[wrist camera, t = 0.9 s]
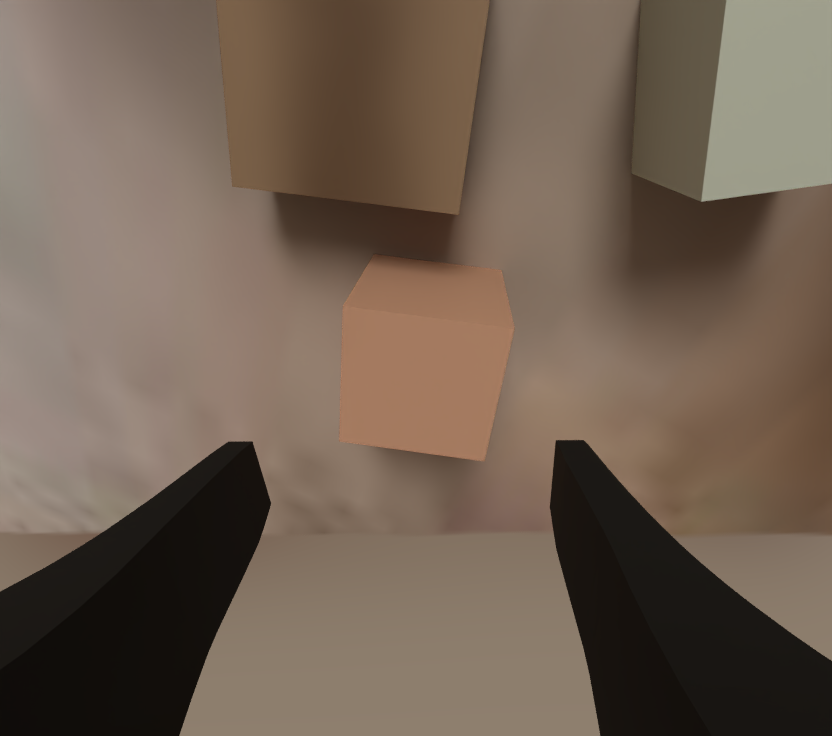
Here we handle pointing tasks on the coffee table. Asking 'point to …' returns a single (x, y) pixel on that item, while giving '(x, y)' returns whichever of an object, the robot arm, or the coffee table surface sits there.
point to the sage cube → (734, 96)
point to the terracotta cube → (424, 356)
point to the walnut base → (352, 97)
